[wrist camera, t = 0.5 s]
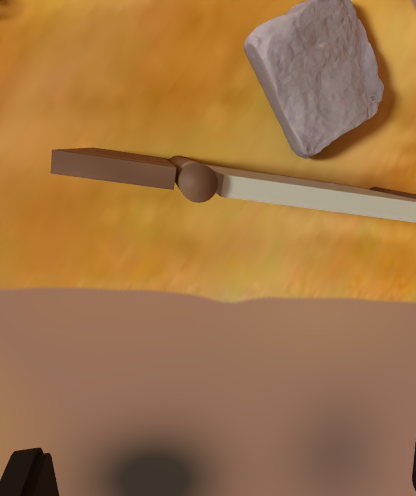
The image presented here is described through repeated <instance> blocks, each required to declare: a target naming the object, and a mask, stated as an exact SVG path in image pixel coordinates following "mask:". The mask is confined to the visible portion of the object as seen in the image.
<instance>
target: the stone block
mask: <svg viewBox="0 0 416 496" xmlns="http://www.w3.org/2000/svg"><path fill="white" fill-rule="evenodd" d="M356 13H357V11H356V10H355V8H354V7H353V5H352V3H351V1H350V0H308V1H305V2H301V3H299V4H297V5H295V6H293V8H292V9H290V10H289V11H288V12H287V13H286V14H284V15H282V16H279V17H275V18H273V19H271V20H269V21H267V22H265V23H262V24H261V25H259V26H257V28H256V29H255V30H254V31H253V32H252V33H251V34H250V35H249V36H248V37H247V39H246V41H245V42H244V50H245V52H246V54H247V57H248V59H249V61H250V63H251V65H252V67H253V69H254V71H255V73H256V75H257V78H258V80H259V82H260V84H261V86H262V88H263V90H264V92H265V94H266V96H267V98H268V100H269V102H270V104H271V107H272V109H273V111H274V113H275V115H276V117H277V119H278V121H279V123H280V125H281V127H282V129H283V131H284V134H285V136H286V138H287V140H288V142H289V144H290V146H291V148H292V150H293V151H294V152H295V153H296V154H297V155H298V156H300V157H303V158H305V159H306V158H309V157H312V156H314V155H315V154H317V153H319V152H320V151H321V150H322V149H323V148H324V147H326V146H328V145H329V144H330V143H331V142H332V141H334V140H335V139H337V138H339V137H340V136H342V135H344V134H345V133H347V132H349V131H350V130H352V129H354V128H356V127H357V126H359V125H360V124H362V123H363V122H365V121H367V120H369V119H370V118H372V117H373V116H374V115H375V114H376V112H377V111H378V105H379V104H380V103H381V102H382V99H383V91H384V85H383V83H382V81H381V80H380V78H379V76H378V73H377V69H378V65H377V61H376V57H375V54H374V51H373V49H372V47H371V44H370V43H369V42H368V37H367V34H366V30H365V29H364V27H363V24H362V22H361V21H360V19H359V18H358V17H357V15H356Z"/></svg>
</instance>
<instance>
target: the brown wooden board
mask: <svg viewBox="0 0 416 496" xmlns="http://www.w3.org/2000/svg"><path fill="white" fill-rule="evenodd" d="M51 174H59V175H66V176H74V177H81V178H89V179H96V180H104V181H111V182H119V183H126V184H134V185H141V186H149V187H156V188H164V189H171V190H174V183H176V184H177V186H178V187H179V189H180V190H181V192H182V193H183V195H184V196H185V197H186V198H187V199H189V200H190V201H193V202H198V203H199V202H205V201H207V200H209V199H210V198H212V197H213V195H214V194H215V192H216V190H217V187H218V180H217V176H216V174H215V172H214V171H213V170H212V169H211V168H210V167H208V166H206V165H204V164H201V163H198V162H195V161H193V160H190V159H187V158H184V157H182V156H174V157H172V158H170V160H169V161H168V160H167V159H166V158H159V157H153V156H146V155H139V154H132V153H125V152H118V151H112V150H105V149H98V148H78V149H58V150H52V161H51ZM369 190H373V191H378V192H383V193H388V194H393V195H398V196H402V197H407V198H412V199H416V195H415V194H410V193H404V192H399V191H394V190H388V189H383V188H378V187H372V188H370V189H369Z"/></svg>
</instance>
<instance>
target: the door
mask: <svg viewBox="0 0 416 496" xmlns="http://www.w3.org/2000/svg"><path fill="white" fill-rule="evenodd" d="M204 165H206V166H208V167H210V168H211V169H212V170H213V171H214V172H215V174H216V176H217V180H218V187H217V190H216V192H215V193H217V194H218V195H219V196H221V197H227V198H235V199H242V200H250V201H258V202H265V203H273V204H280V205H288V206H295V207H303V208H310V209H318V210H325V211H333V212H340V213H348V214H355V215H363V216H370V217H378V218H386V219H393V220H401V221H408V222H416V199H412V198H407V197H402V196H398V195H393V194H388V193H383V192H378V191H373V190H368V189H363V188H359V187H354V186H349V185H343V184H336V183H329V182H323V181H316V180H309V179H302V178H295V177H289V176H282V175H275V174H268V173H261V172H254V171H248V170H241V169H234V168H227V167H220V166H213V165H207V164H204Z"/></svg>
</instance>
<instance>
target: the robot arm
mask: <svg viewBox="0 0 416 496" xmlns="http://www.w3.org/2000/svg"><path fill="white" fill-rule="evenodd" d="M412 482H413V485H414V488H415V490H416V444H415V455H414V465H413V474H412ZM0 496H59V492H58V487H57V482H56V477H55V472H54V468H53V462H52V457H51V455H50V453H45V454H43V451H42V449H41V448H33V449H27V450H20V451H15V452H13V454H12V455H11V457H10V460H9V462H8V464H7V466H6V468H5V471H4V473H3V475H2V478H1V480H0Z"/></svg>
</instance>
